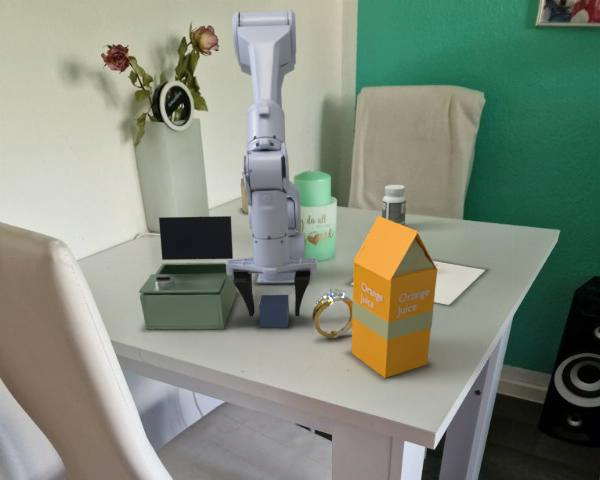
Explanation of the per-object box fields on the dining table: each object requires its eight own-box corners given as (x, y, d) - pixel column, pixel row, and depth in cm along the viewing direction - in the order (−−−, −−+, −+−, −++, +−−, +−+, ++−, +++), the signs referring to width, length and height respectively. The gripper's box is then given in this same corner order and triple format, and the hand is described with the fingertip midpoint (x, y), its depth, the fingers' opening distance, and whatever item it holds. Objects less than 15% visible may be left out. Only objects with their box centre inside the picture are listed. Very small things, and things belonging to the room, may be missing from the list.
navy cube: (289, 316, 97) (288, 294, 94) (287, 327, 93) (286, 305, 91) (263, 316, 97) (261, 294, 95) (260, 328, 93) (258, 305, 91)
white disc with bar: (215, 282, 93) (214, 273, 92) (212, 290, 90) (211, 280, 89) (157, 283, 94) (156, 273, 93) (152, 290, 91) (150, 280, 90)
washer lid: (162, 259, 103) (162, 259, 103) (232, 258, 102) (232, 258, 102) (158, 217, 101) (159, 217, 101) (230, 216, 100) (231, 216, 100)
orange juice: (392, 340, 88) (400, 211, 77) (428, 364, 81) (443, 226, 70) (350, 353, 85) (353, 220, 74) (384, 378, 78) (393, 237, 67)
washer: (167, 294, 106) (162, 259, 103) (236, 293, 106) (232, 258, 102) (146, 329, 94) (138, 291, 90) (223, 329, 93) (219, 290, 89)
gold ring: (352, 330, 91) (353, 284, 87) (358, 339, 89) (359, 292, 84) (310, 336, 90) (309, 289, 86) (315, 344, 87) (315, 297, 83)
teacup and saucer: (440, 269, 113) (442, 250, 111) (425, 282, 107) (427, 262, 105) (400, 262, 117) (402, 243, 115) (384, 274, 112) (385, 254, 109)
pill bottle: (408, 227, 138) (411, 185, 133) (398, 233, 134) (401, 190, 129) (386, 224, 141) (389, 183, 136) (377, 230, 137) (379, 188, 132)
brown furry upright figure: (258, 213, 153) (255, 175, 148) (244, 214, 152) (241, 176, 147) (253, 207, 159) (250, 169, 153) (240, 208, 158) (237, 171, 153)
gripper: (219, 242, 84) (228, 324, 91) (316, 241, 83) (317, 324, 90) (226, 228, 89) (234, 307, 97) (316, 227, 89) (317, 306, 96)
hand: (274, 314), depth 94 cm, fingers open, 7 cm apart
